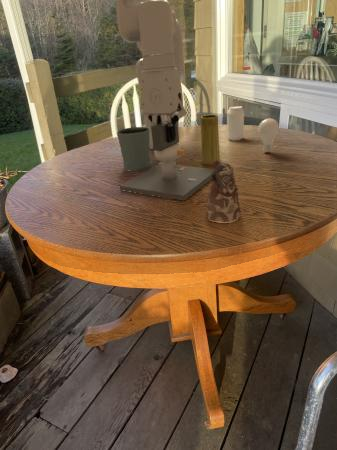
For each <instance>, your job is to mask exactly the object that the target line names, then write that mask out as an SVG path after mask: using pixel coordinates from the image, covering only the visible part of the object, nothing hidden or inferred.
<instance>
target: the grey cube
mask: <svg viewBox="0 0 337 450" xmlns="http://www.w3.org/2000/svg"><path fill="white" fill-rule="evenodd" d="M166 127H168V125H167V121H164V122H162V123H159V124H157V125H154V126H151V131H152V140H153V148H154V149H153V151H154V159H155V161H159V162H161V161H171V160H175V159H176V160H178V159H180V158H181V157H182V156H185V155H186V150H185V149H181V144H180V133H179V121H178V122H177V124H176V125H175V130H176V138H175V141H173V142H170V143H168V142H167V134H166Z"/></svg>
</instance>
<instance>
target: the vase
mask: <svg viewBox="0 0 337 450" xmlns="http://www.w3.org/2000/svg"><path fill="white" fill-rule="evenodd" d="M200 134H201V135H200V137H201V138H200V139H201V141H200V143H201V160H200V163H201V164H203V165H205V166H206V165H207V166H208V165H209V166H210V165H211V166H213V161H215V160H217V161H218V163H219V164H220V162H221V157H220V137H219V115H217V114H204V115H201V116H200Z"/></svg>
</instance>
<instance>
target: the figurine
mask: <svg viewBox="0 0 337 450" xmlns="http://www.w3.org/2000/svg"><path fill="white" fill-rule="evenodd" d="M212 166H213V169H214V171H213V172H212V174H211V175H212V176H211V177H212V179H211V182H212V184H211V186H210V187H209V189H208V193H207V198H206V200H207V201H206V212H205V214H206V218H207V217H208V218H207V220H208V219H210V220H213V221H221V222H230V221H234V220H236V219H237V218H238V217H239V216H240V215H241V206H240V199H239V185H238V184H236V178H235V175H234V167H233V166H232V165H230V164H229V163H227V162H221V163H220V162H219V163H218V161H217V160H215V161H213V165H212ZM240 217H241V216H240Z"/></svg>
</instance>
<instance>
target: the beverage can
mask: <svg viewBox="0 0 337 450" xmlns="http://www.w3.org/2000/svg"><path fill="white" fill-rule="evenodd" d="M226 115H227V116H226V117H227V120H226V122H227V123H226V124H227V125H226V127H227V130H226V131H227V139H228V140H229V141H233V142H235V141H241V140H242V139H244V135H245V132H244V130H245V129H244V128H245V111H244V109H243V105H242V106H241V105H240V106H239V105H236V106H235V105H234V106H233V105H232V106H230V107H228V111H227V112H226Z"/></svg>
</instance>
